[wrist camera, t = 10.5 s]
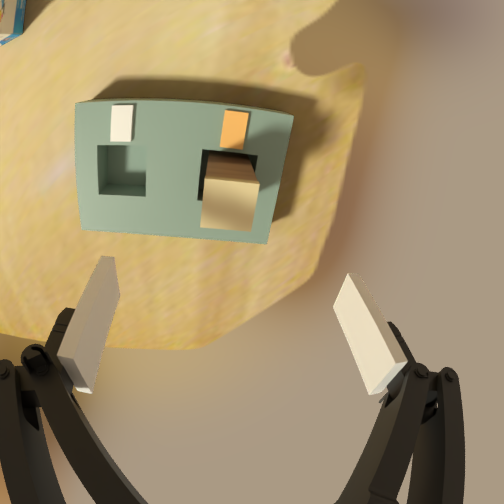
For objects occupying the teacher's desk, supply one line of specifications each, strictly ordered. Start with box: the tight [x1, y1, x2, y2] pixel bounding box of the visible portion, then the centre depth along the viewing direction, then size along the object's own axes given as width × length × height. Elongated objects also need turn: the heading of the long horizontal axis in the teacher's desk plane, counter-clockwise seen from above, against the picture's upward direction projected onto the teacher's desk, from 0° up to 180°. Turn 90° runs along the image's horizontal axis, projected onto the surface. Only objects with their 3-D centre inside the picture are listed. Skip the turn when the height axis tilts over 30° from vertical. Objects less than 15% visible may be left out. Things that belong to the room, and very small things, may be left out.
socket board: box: [75, 98, 294, 244], centre depth 31 cm, size 16×24×5 cm, turn 81°
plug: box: [200, 150, 260, 232], centre depth 29 cm, size 5×5×11 cm
